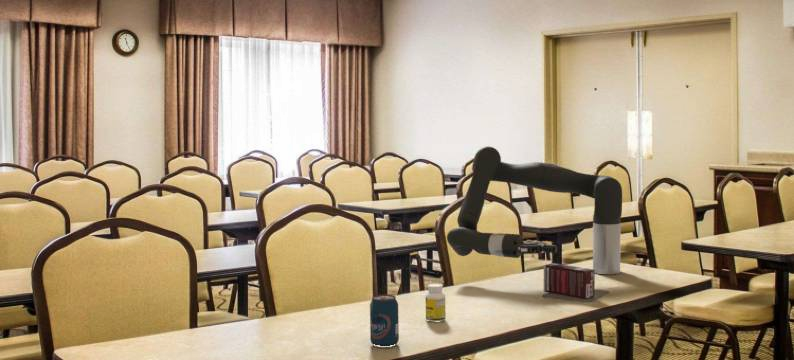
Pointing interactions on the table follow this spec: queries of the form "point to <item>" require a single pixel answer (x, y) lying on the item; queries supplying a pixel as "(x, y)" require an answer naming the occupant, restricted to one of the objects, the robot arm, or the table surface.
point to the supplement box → (569, 280)
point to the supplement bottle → (435, 303)
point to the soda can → (384, 320)
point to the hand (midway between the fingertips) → (556, 249)
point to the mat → (596, 295)
